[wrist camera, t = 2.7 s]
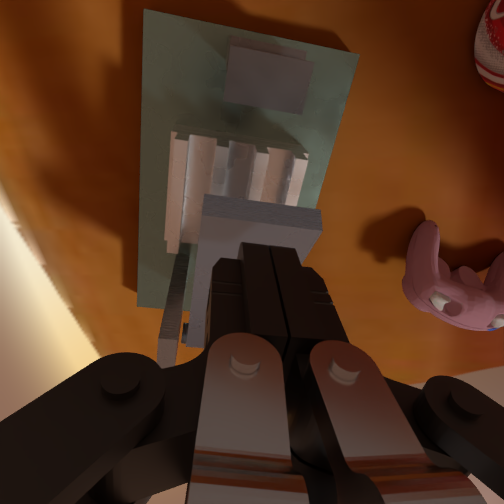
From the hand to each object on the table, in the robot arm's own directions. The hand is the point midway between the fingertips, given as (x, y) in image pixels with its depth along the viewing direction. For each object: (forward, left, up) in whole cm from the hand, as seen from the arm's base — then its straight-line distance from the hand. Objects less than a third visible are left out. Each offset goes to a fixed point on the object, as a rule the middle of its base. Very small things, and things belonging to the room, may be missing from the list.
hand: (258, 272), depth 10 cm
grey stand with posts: (0, +4, -16) cm, 16 cm away
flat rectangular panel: (0, +4, -5) cm, 7 cm away
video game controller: (-19, +7, -16) cm, 26 cm away
